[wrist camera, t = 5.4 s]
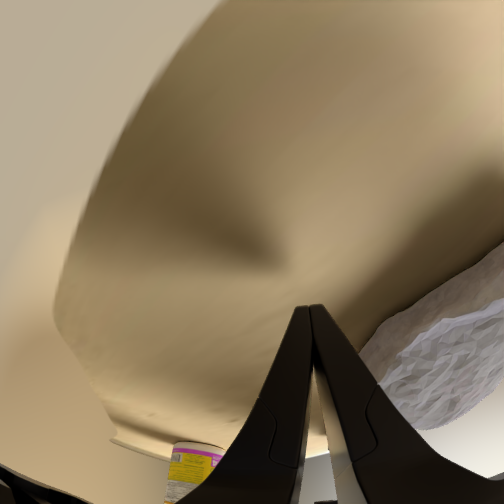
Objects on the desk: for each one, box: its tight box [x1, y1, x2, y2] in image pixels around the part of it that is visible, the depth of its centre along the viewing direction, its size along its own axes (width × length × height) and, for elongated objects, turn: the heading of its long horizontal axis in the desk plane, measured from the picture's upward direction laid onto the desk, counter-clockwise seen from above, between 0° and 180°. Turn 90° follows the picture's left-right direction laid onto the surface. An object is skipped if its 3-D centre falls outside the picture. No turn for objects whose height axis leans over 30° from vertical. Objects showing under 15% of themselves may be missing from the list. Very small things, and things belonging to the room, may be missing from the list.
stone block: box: [358, 242, 504, 430], centre depth 9 cm, size 12×5×10 cm
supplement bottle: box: [164, 442, 226, 504], centre depth 22 cm, size 7×7×13 cm
